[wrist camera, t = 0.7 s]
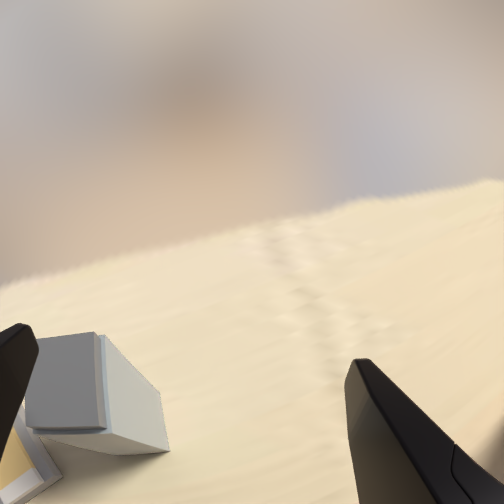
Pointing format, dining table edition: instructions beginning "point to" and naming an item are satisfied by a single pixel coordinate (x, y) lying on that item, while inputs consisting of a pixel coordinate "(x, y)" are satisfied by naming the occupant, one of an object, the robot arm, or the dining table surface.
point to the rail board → (25, 465)
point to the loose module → (93, 398)
